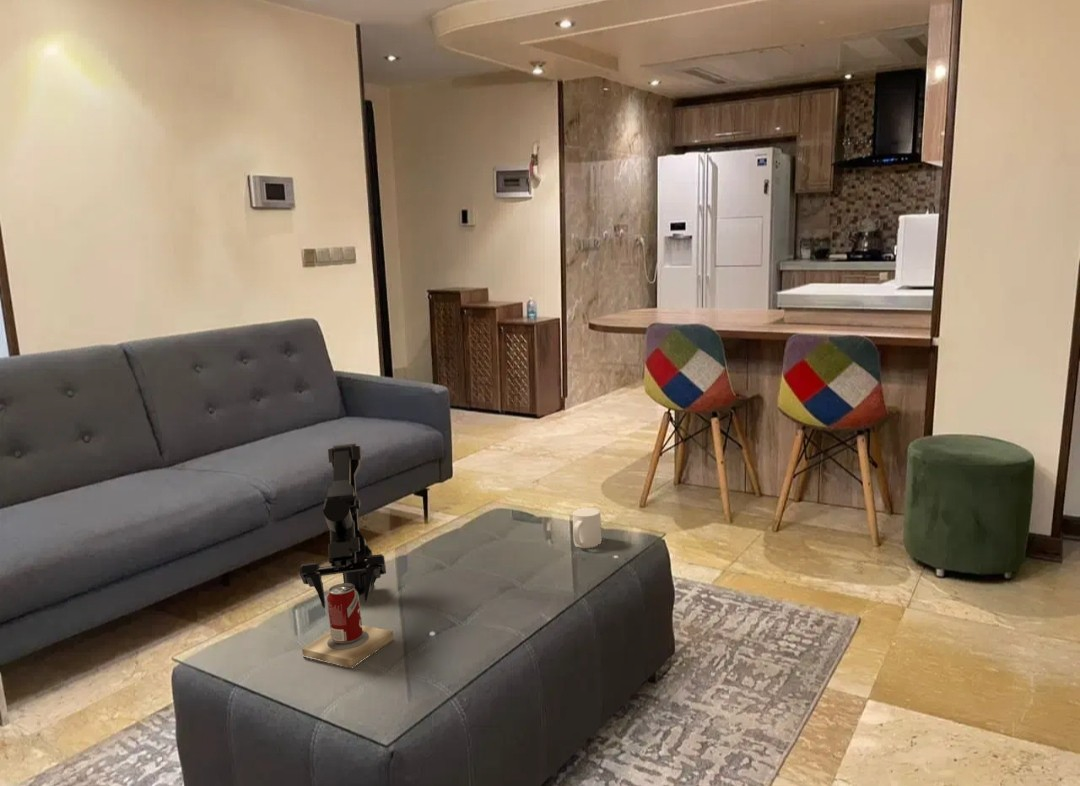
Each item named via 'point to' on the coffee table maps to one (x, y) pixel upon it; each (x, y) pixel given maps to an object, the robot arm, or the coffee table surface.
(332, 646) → the base slab
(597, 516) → the mug
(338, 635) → the soda can
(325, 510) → the robot arm
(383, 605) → the coffee table surface
